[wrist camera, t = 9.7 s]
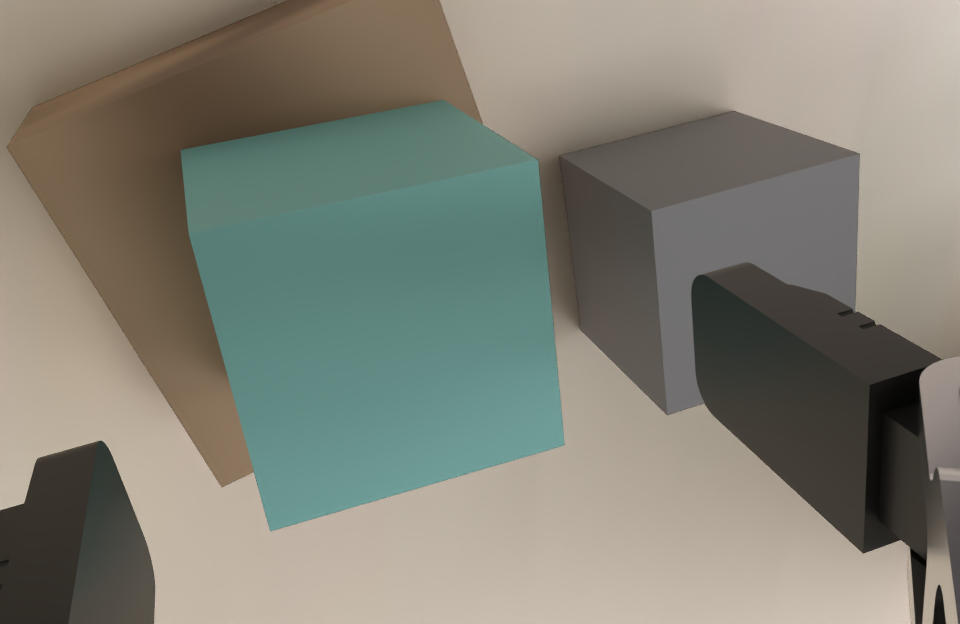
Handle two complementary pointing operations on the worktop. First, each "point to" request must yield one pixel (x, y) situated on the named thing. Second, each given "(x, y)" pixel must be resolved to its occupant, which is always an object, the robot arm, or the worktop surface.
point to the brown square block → (202, 121)
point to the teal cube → (377, 303)
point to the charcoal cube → (700, 233)
